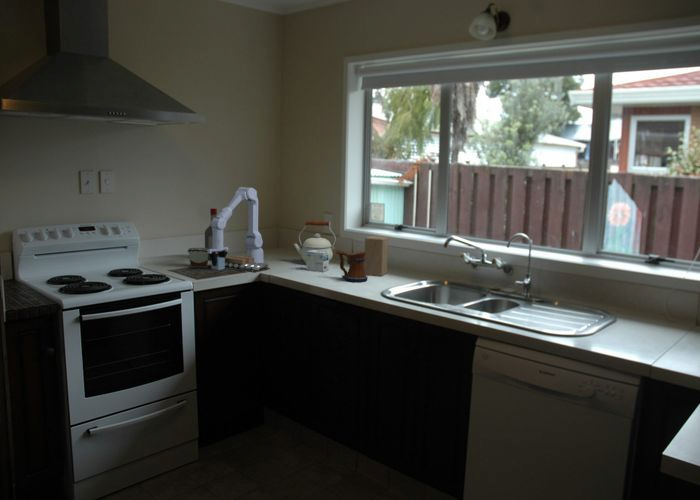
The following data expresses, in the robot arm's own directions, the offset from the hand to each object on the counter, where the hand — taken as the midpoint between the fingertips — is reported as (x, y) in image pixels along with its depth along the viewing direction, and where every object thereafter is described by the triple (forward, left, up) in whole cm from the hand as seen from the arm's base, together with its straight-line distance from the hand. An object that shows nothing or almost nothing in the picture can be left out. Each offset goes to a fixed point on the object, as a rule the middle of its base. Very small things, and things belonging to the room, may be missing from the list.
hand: (217, 265), depth 320 cm
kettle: (-45, +33, -2) cm, 56 cm away
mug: (-17, +73, -2) cm, 75 cm away
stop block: (0, 0, -2) cm, 2 cm away
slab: (-10, +7, +1) cm, 12 cm away
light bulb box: (-28, +46, -2) cm, 54 cm away
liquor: (-21, -22, -2) cm, 31 cm away
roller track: (-9, +11, -2) cm, 15 cm away
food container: (0, -13, -2) cm, 13 cm away
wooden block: (-37, +77, -2) cm, 86 cm away
